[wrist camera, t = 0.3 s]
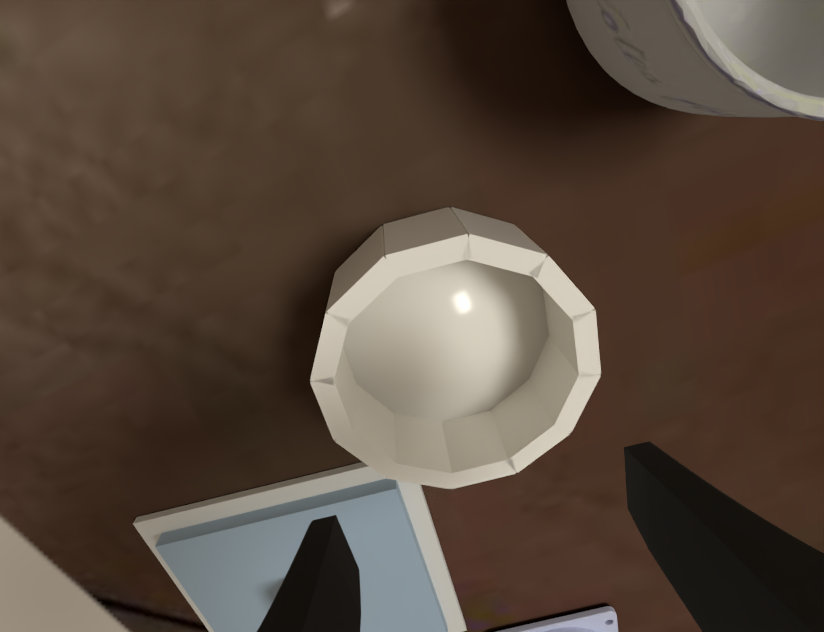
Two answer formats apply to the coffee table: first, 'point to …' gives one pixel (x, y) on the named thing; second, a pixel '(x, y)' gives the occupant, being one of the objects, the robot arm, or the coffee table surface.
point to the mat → (301, 489)
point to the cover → (277, 546)
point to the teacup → (712, 53)
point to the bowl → (453, 351)
